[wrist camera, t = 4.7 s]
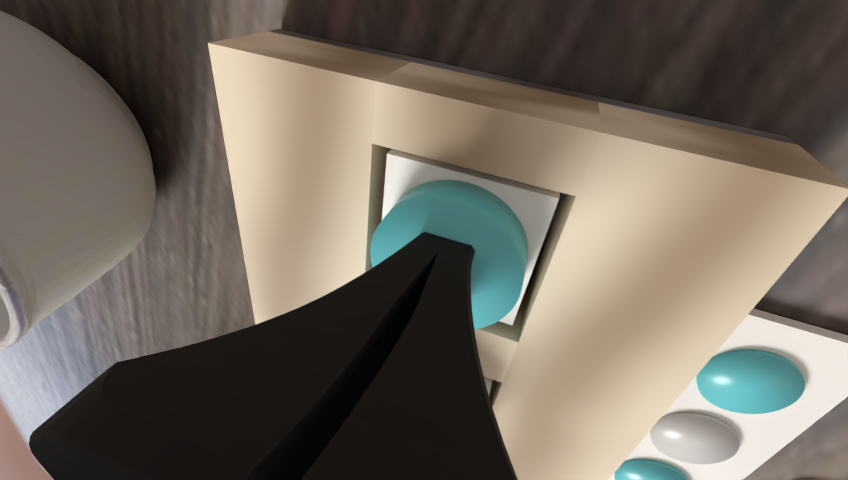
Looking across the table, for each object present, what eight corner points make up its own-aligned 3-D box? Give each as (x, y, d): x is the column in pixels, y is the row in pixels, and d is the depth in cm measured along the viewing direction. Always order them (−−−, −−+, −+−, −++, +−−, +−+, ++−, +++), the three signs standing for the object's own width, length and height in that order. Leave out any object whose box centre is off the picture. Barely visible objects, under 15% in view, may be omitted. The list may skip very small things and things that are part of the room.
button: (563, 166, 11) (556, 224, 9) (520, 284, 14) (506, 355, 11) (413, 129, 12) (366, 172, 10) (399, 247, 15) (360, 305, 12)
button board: (788, 136, 10) (853, 189, 7) (532, 513, 23) (526, 576, 20) (280, 29, 12) (207, 42, 10) (308, 421, 25) (279, 468, 23)
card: (887, 346, 12) (900, 362, 11) (681, 517, 19) (684, 531, 18) (702, 293, 13) (706, 306, 12) (572, 474, 20) (571, 487, 19)
